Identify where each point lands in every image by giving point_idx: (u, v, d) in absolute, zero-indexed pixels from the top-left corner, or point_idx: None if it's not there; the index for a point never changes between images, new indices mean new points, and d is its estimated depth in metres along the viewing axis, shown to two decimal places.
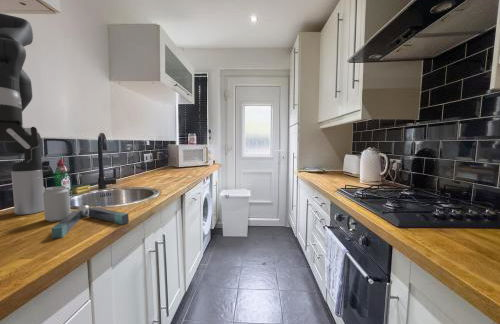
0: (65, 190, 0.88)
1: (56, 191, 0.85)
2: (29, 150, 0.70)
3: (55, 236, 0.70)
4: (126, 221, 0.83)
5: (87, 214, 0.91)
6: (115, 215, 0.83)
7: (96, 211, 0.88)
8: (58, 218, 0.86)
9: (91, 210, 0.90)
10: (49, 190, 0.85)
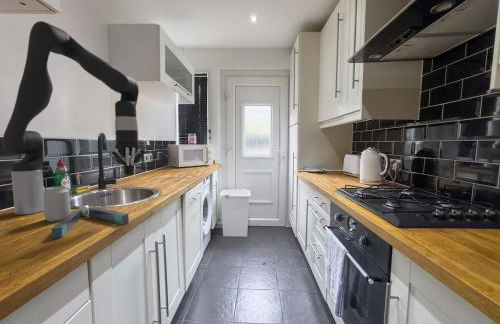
0: (65, 190, 0.88)
1: (56, 191, 0.85)
2: (132, 166, 0.91)
3: (55, 236, 0.70)
4: (126, 221, 0.83)
5: (87, 214, 0.91)
6: (115, 215, 0.83)
7: (96, 211, 0.88)
8: (58, 218, 0.86)
9: (91, 210, 0.90)
10: (49, 190, 0.85)
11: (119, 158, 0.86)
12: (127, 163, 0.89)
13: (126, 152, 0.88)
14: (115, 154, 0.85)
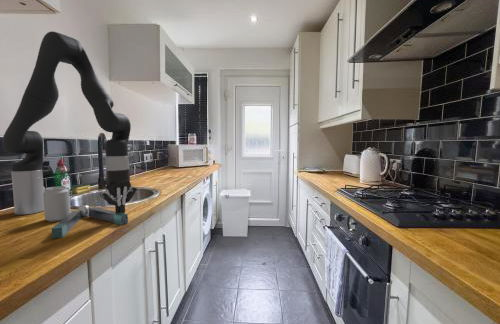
0: (65, 190, 0.88)
1: (56, 191, 0.85)
2: (124, 205, 0.89)
3: (55, 236, 0.70)
4: (125, 221, 0.83)
5: (87, 214, 0.91)
6: (114, 215, 0.83)
7: (96, 211, 0.88)
8: (58, 218, 0.86)
9: (91, 210, 0.90)
10: (49, 190, 0.85)
11: (110, 199, 0.84)
12: (118, 203, 0.86)
13: (117, 192, 0.85)
14: (106, 196, 0.82)
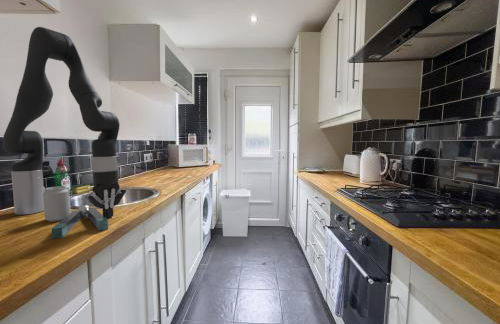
0: (65, 190, 0.88)
1: (56, 191, 0.85)
2: (112, 208, 0.84)
3: (55, 236, 0.70)
4: (105, 227, 0.77)
5: None
6: (96, 220, 0.78)
7: (89, 213, 0.87)
8: (58, 218, 0.86)
9: (87, 211, 0.89)
10: (49, 190, 0.85)
11: (96, 202, 0.79)
12: (106, 206, 0.82)
13: (104, 195, 0.81)
14: (92, 199, 0.78)
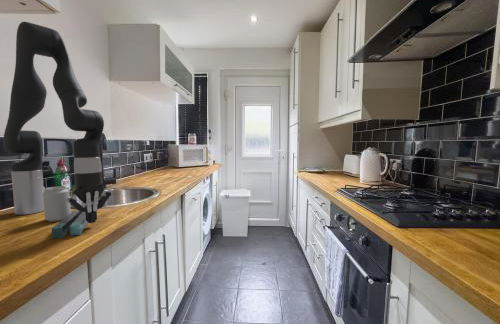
0: (65, 190, 0.88)
1: (56, 191, 0.85)
2: (95, 211, 0.80)
3: (55, 236, 0.70)
4: (77, 233, 0.72)
5: None
6: None
7: None
8: (58, 218, 0.86)
9: None
10: (49, 190, 0.85)
11: (78, 205, 0.75)
12: (89, 210, 0.78)
13: (87, 198, 0.77)
14: (73, 202, 0.74)
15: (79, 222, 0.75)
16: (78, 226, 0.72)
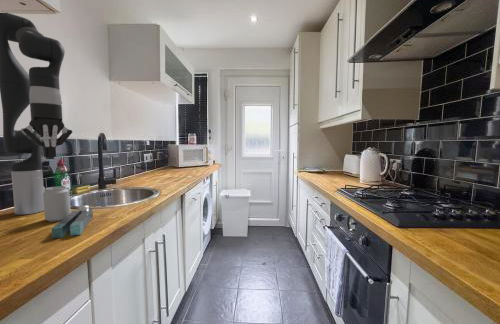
0: (65, 190, 0.88)
1: (56, 191, 0.85)
2: (54, 148, 0.76)
3: (55, 236, 0.70)
4: (77, 233, 0.72)
5: None
6: None
7: None
8: (58, 218, 0.86)
9: None
10: (49, 190, 0.85)
11: (34, 137, 0.71)
12: (46, 144, 0.74)
13: (44, 130, 0.73)
14: (27, 132, 0.70)
15: (79, 222, 0.75)
16: (78, 226, 0.72)
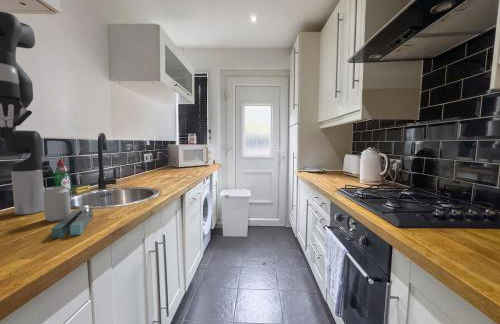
0: (65, 190, 0.88)
1: (56, 191, 0.85)
2: (11, 129, 0.72)
3: (55, 236, 0.70)
4: (77, 233, 0.72)
5: None
6: None
7: None
8: (58, 218, 0.86)
9: None
10: (49, 190, 0.85)
11: None
12: (1, 124, 0.70)
13: None
14: None
15: (79, 222, 0.75)
16: (78, 226, 0.72)
